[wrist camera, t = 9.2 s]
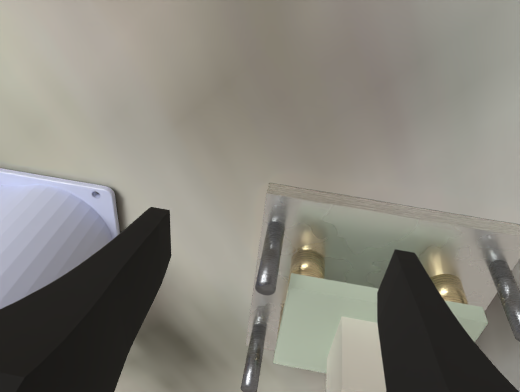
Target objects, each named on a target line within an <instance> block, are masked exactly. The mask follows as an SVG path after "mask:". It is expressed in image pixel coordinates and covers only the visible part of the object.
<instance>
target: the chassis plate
mask: <svg viewBox="0 0 520 392" xmlns="http://www.w3.org/2000/svg"><path fill="white" fill-rule="evenodd" d="M395 249H397V250H402V251H408V252H414V253H415V254H416V255H417V257H418V259H419V260H420V262H421V264H422V265H423V267H424V269H425V270H426V272H427V274H428V275H429V277H430V278H431V280H432V282H433V283H434V285H435V287H436V288H437V290H438V291H439V293H440V294H441V296H442V298H443V299H444V300H445V301H451V302H456V303H462V304H468V305H473V306H479V307H483V310H484V312H485V310H486V309H487V307H488V306H489V304H490V303H491V301H492V300H493V298H494V297H495V295H496V293H497V292H498V295H499V298H500V300H501V303H502V305H503V308H504V310H505V313H506V315H507V318H508V321H509V323H510V326H511V328H512V331H513V333H514V336H515V338H516V340H518V341H520V290H519V288H518V286H517V283H516V281H515V279H514V277H513V274H512V272H511V271H512V269H513V268H514V266H515V265H516V263H517V262H518V260H519V259H520V225H518V224H512V223H506V222H500V221H494V220H488V219H482V218H476V217H470V216H464V215H458V214H452V213H446V212H440V211H434V210H428V209H422V208H416V207H410V206H404V205H398V204H392V203H386V202H380V201H374V200H368V199H362V198H356V197H350V196H344V195H338V194H332V193H326V192H320V191H314V190H308V189H302V188H296V187H290V186H284V185H278V184H272V183H269V185H268V189H267V194H266V201H265V208H264V216H263V223H262V230H261V237H260V245H259V252H258V259H257V266H256V274H255V281H254V288H253V295H252V303H251V310H250V317H249V324H248V332H247V339H246V345H247V346H249V348H248V353H247V358H246V364H245V369H244V374H243V380H242V385H241V390H242V391H243V392H257V387H258V381H259V374H260V368H261V362H262V355H263V349H268V350H273V351H275V347H276V342H277V338H278V333H279V328H280V323H281V319H282V314H283V309H284V305H285V300H286V295H287V290H288V286H289V281H290V276H291V273H294V274H299V275H305V276H311V277H316V278H322V279H327V280H333V281H339V282H344V283H350V284H355V285H361V286H367V287H372V288H378V289H379V287H380V285H381V282H382V280H383V277H384V275H385V272H386V270H387V267H388V265H389V262H390V260H391V258H392V255H393V253H394V250H395Z"/></svg>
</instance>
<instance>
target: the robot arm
mask: <svg viewBox="0 0 520 392" xmlns="http://www.w3.org/2000/svg"><path fill="white" fill-rule="evenodd" d="M95 191H96V192H98V193H99V194H100V195H99V194H97V193H96V192H95ZM170 258H171V237H170V210H165V209H160V208H154V207H151V208H149V209H148V210H146V211H145V212H144V213H143V214H142V215H141V216H140V217H139V218H137V219H136V220H135V221H134V222H133V223H132V224H131V225H129V226H128V227H127V228H126V229H125V230H123V231H122V232H121V233H120V230H119V222H118V215H117V207H116V199H115V193H114V191H113V190H112V189H111V188H109V187H107V186H101V185H96V184H90V183H84V182H78V181H72V180H66V179H61V178H55V177H49V176H43V175H37V174H31V173H26V172H20V171H14V170H8V169H2V168H0V392H114V391H115V388H116V385H117V382H118V380H119V377H120V374H121V371H122V369H123V366H124V363H125V361H126V358H127V355H128V353H129V351H130V348H131V346H132V344H133V341H134V339H135V337H136V335H137V333H138V331H139V329H140V327H141V325H142V323H143V321H144V319H145V317H146V315H147V313H148V311H149V309H150V307H151V305H152V303H153V301H154V299H155V296H156V294H157V292H158V290H159V288H160V286H161V284H162V281H163V278H164V276H165V273H166V270H167V267H168V264H169V261H170ZM377 324H378V332H379V340H380V347H381V355H382V362H383V369H384V377H385V384H386V392H519V391H518V390H517V389H516V388H515V387H514V386H513V385H512V384H511V383H510V382H509V381H508V380H507V379H506V378H505V377H504V376H503V375H502V374H501V373H500V372H499V370H498V369H497V368H496V367H495V366H494V365H493V364H492V362H491V361H490V360H489V359H488V358H487V357H486V356H485V354H484V353H483V352H482V351H481V350H480V349H479V347H478V346H477V345H476V344H475V342H474V341H473V340H472V339H471V337H470V336H469V335H468V333H467V332H466V331H465V329H464V328H463V327H462V325H461V324H460V322H459V321H458V320H457V318H456V317H455V315H454V314H453V312H452V311H451V309H450V308H449V306H448V305H447V304H446V302H445V301H444V299H443V298H442V296H441V294H440V293H439V291H438V290H437V288H436V287H435V285H434V283H433V282H432V280H431V278H430V277H429V275H428V274H427V272H426V270H425V269H424V267H423V265H422V264H421V262H420V260H419V259H418V257H417V255H416V254H415V253H414V252H408V251H402V250H397V249H395V250H394V253H393V255H392V258H391V260H390V262H389V265H388V267H387V270H386V272H385V275H384V277H383V280H382V282H381V285H380V287H379V290H378V292H377Z"/></svg>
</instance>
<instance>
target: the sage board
mask: <svg viewBox="0 0 520 392" xmlns="http://www.w3.org/2000/svg"><path fill="white" fill-rule="evenodd" d="M378 290H379V289H378V288H372V287H367V286H361V285H355V284H350V283H344V282H339V281H333V280H327V279H322V278H316V277H311V276H305V275H299V274H294V273H291V276H290V281H289V286H288V290H287V295H286V300H285V305H284V309H283V314H282V319H281V323H280V328H279V333H278V338H277V342H276V347H275V353H274V361H273V364H279V365H284V366H289V367H294V368H300V369H305V370H310V371H315V372H321V373H326V374H327V376H326V392H386V384H385V377H384V369H383V362H382V355H381V347H380V340H379V332H378V324H377V292H378ZM444 301H445V300H444ZM445 302H446V304H447V305H448V306H449V308H450V309H451V311H452V312H453V314H454V315H455V317H456V318H457V320H458V321H459V322H460V324H461V325H462V327H463V328H464V329H465V331H466V332H467V333H468V335H469V336H470V337H471V339H472V340H473V341H474V342H475V341H476V340H477V338H478V337H479V335H480V334H481V333H482V331H483V330H484V328H485V327H486V325H487V324H488V322H487V319H486V316H485V313H484V310H483V307H479V306H473V305H468V304H462V303H456V302H451V301H445Z"/></svg>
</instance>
